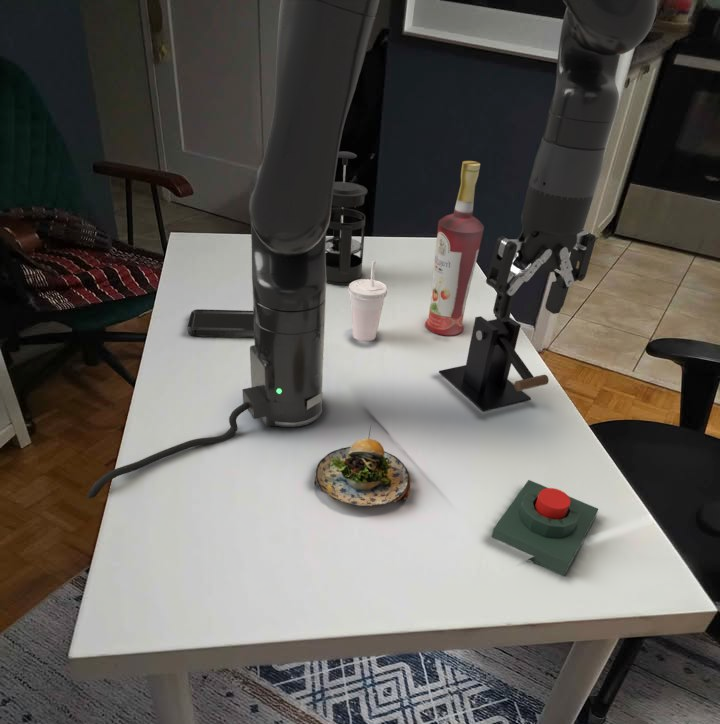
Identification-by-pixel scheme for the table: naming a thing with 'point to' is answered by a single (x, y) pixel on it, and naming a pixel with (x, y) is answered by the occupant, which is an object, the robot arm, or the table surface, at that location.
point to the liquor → (455, 258)
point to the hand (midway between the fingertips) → (527, 315)
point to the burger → (363, 475)
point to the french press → (345, 231)
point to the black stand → (487, 368)
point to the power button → (552, 503)
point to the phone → (221, 323)
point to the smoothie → (366, 306)
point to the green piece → (544, 529)
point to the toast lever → (517, 360)
